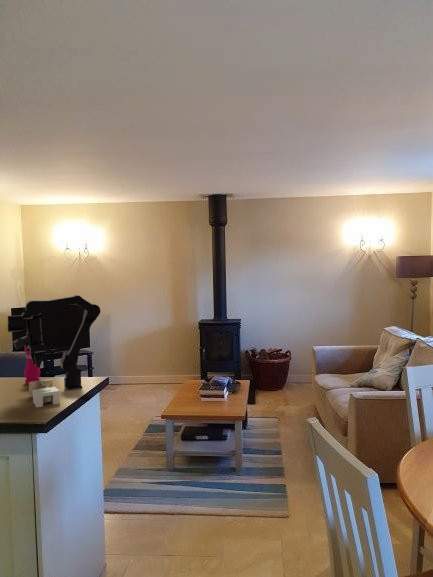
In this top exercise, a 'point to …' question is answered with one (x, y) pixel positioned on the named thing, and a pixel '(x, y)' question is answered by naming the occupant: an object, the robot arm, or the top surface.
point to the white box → (40, 385)
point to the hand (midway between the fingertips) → (36, 365)
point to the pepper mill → (31, 369)
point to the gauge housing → (42, 392)
